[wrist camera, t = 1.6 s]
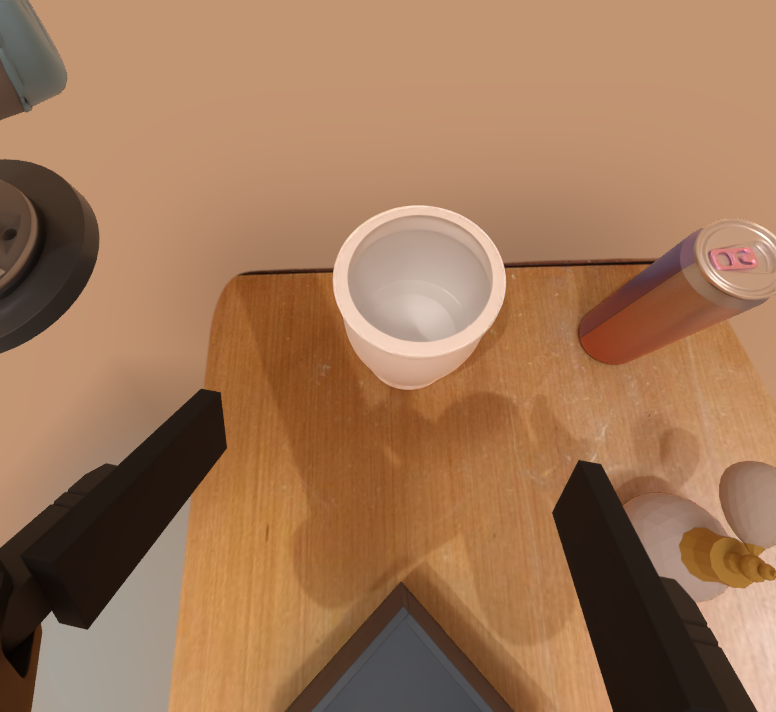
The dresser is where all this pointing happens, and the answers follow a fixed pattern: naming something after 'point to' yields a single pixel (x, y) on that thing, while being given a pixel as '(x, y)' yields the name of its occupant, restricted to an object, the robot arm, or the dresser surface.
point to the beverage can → (685, 291)
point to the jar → (417, 292)
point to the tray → (400, 668)
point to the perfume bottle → (711, 532)
